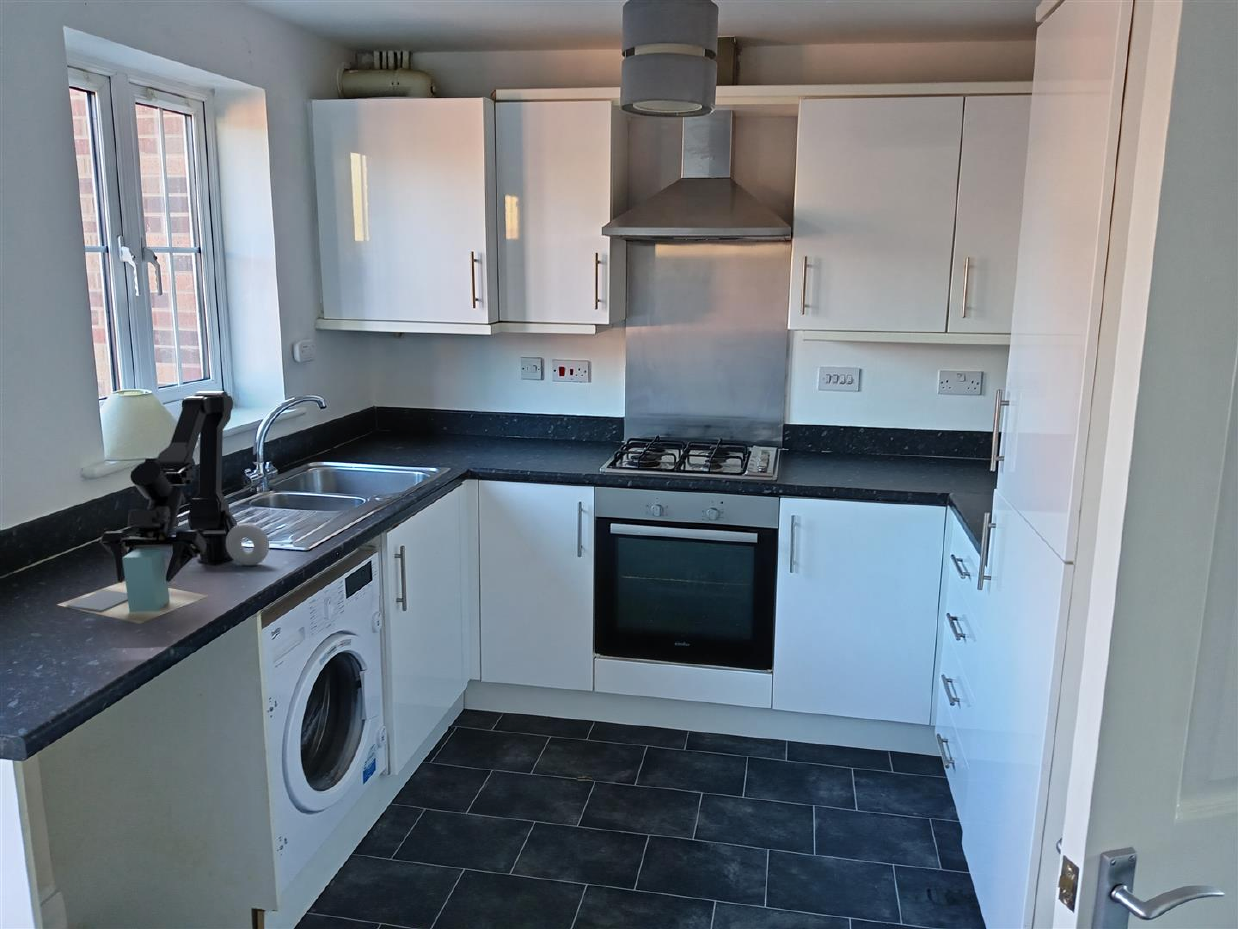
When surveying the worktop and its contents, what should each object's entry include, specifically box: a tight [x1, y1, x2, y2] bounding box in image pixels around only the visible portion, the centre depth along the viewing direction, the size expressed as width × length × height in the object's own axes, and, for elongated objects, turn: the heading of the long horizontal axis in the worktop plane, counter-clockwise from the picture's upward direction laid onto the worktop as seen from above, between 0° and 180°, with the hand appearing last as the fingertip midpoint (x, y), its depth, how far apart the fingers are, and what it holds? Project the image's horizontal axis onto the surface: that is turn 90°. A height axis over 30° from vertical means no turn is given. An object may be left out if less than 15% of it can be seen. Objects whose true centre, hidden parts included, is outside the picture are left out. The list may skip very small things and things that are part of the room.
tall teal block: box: [122, 548, 170, 612], centre depth 184 cm, size 5×5×11 cm
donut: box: [226, 522, 270, 567], centre depth 213 cm, size 10×3×10 cm, turn 84°
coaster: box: [66, 590, 128, 612], centre depth 188 cm, size 9×9×1 cm
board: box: [56, 580, 209, 625], centre depth 189 cm, size 16×24×3 cm, turn 65°
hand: (143, 581), depth 183 cm, fingers open, 9 cm apart
